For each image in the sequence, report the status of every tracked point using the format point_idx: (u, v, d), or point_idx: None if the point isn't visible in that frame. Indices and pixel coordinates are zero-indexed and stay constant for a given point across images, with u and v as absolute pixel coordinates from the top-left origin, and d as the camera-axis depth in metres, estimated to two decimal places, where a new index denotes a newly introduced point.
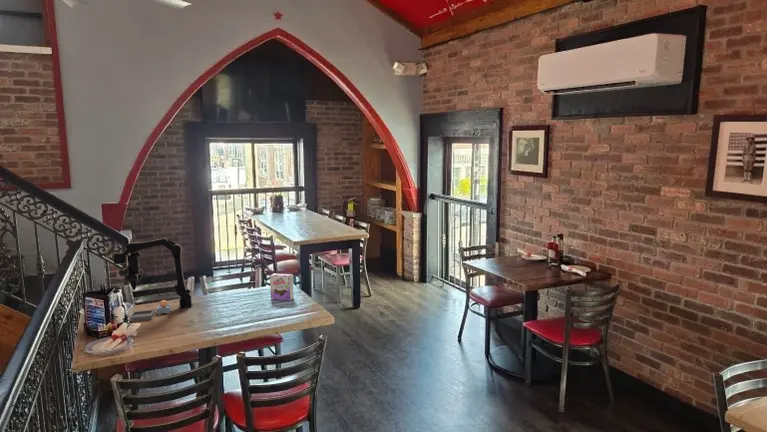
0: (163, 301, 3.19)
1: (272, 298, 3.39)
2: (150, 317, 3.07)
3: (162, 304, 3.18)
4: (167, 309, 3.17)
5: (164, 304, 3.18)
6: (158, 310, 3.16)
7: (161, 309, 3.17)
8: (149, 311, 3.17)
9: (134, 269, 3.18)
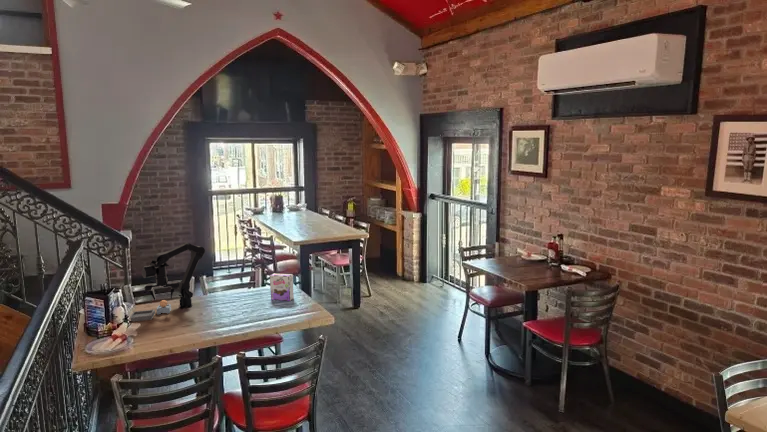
0: (163, 301, 3.19)
1: (272, 298, 3.39)
2: (150, 317, 3.07)
3: (162, 304, 3.18)
4: (167, 309, 3.17)
5: (164, 304, 3.18)
6: (158, 310, 3.16)
7: (161, 309, 3.17)
8: (149, 311, 3.17)
9: (156, 280, 3.17)
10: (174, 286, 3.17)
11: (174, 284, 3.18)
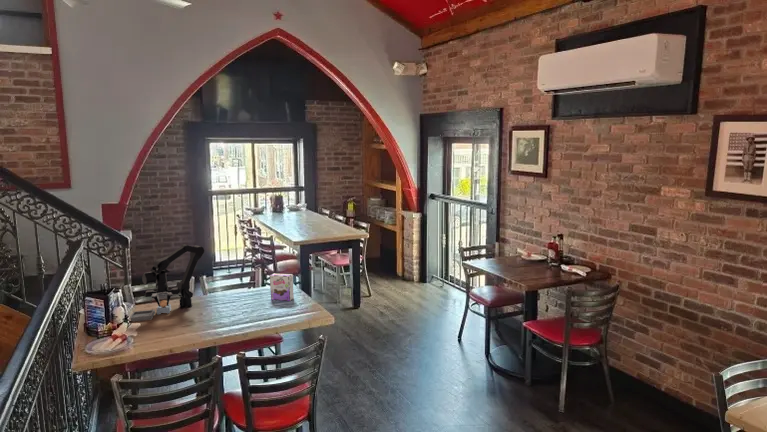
0: (163, 301, 3.19)
1: (272, 298, 3.39)
2: (150, 317, 3.07)
3: (162, 304, 3.18)
4: (167, 309, 3.17)
5: (164, 304, 3.18)
6: (158, 310, 3.16)
7: (161, 309, 3.17)
8: (149, 311, 3.17)
9: (156, 286, 3.17)
10: (174, 292, 3.18)
11: (174, 290, 3.18)
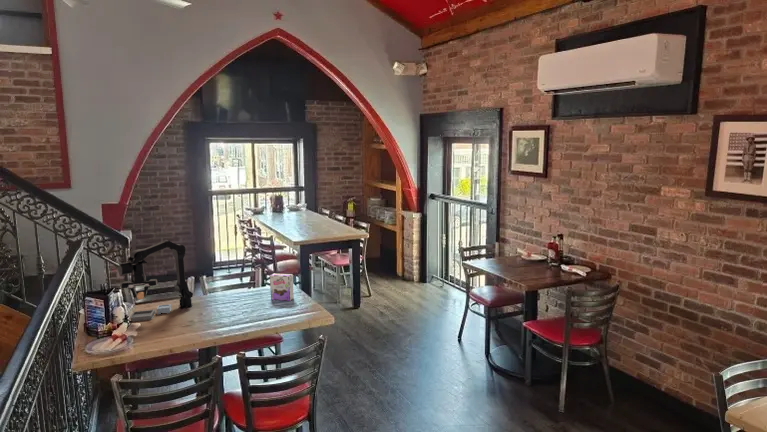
0: (140, 293, 3.08)
1: (272, 298, 3.39)
2: (150, 317, 3.07)
3: (139, 296, 3.07)
4: (167, 309, 3.17)
5: (141, 296, 3.08)
6: (158, 310, 3.16)
7: (161, 309, 3.17)
8: (149, 311, 3.17)
9: (133, 277, 3.07)
10: (152, 284, 3.07)
11: (152, 282, 3.08)
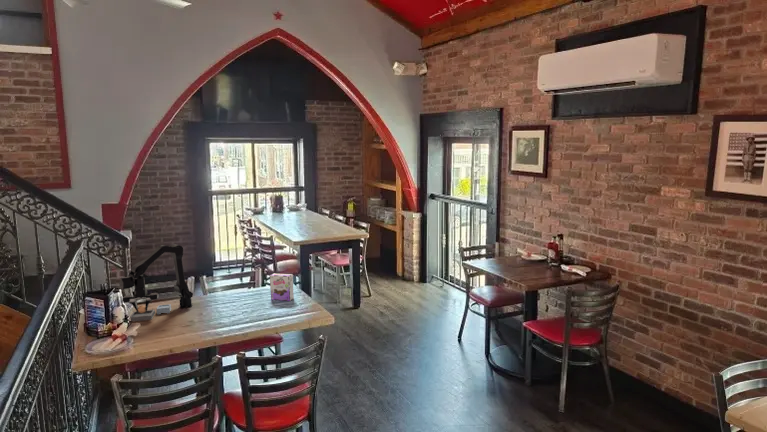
0: (141, 307, 3.09)
1: (272, 298, 3.39)
2: (150, 317, 3.07)
3: (140, 310, 3.08)
4: (167, 309, 3.17)
5: (142, 310, 3.09)
6: (158, 310, 3.16)
7: (161, 309, 3.17)
8: (149, 311, 3.17)
9: (134, 292, 3.08)
10: (153, 298, 3.09)
11: (153, 296, 3.09)
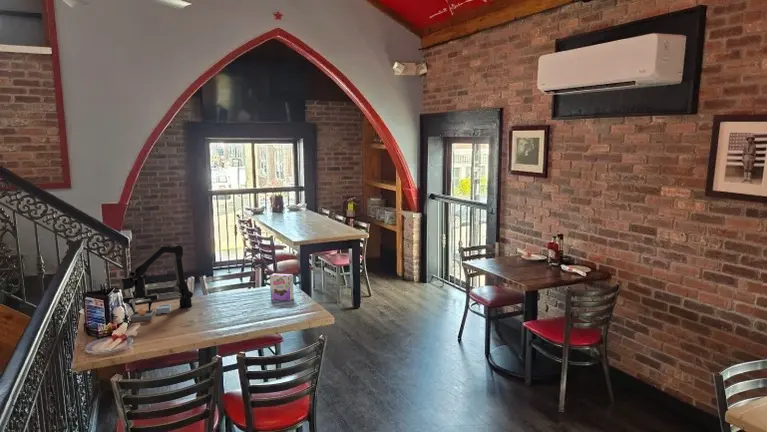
0: (142, 309, 3.09)
1: (272, 298, 3.39)
2: (150, 317, 3.07)
3: (140, 312, 3.09)
4: (167, 309, 3.17)
5: (143, 312, 3.09)
6: (158, 310, 3.16)
7: (161, 309, 3.17)
8: None
9: (134, 292, 3.08)
10: (153, 298, 3.09)
11: (153, 296, 3.09)
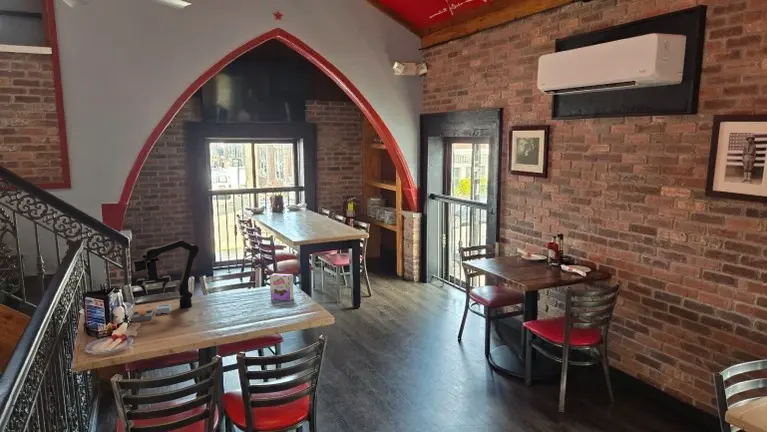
0: (142, 309, 3.09)
1: (272, 298, 3.39)
2: (150, 317, 3.07)
3: (141, 312, 3.09)
4: (167, 309, 3.17)
5: (143, 312, 3.09)
6: (158, 310, 3.16)
7: (161, 309, 3.17)
8: (149, 311, 3.17)
9: (147, 275, 3.15)
10: (166, 280, 3.16)
11: (166, 278, 3.16)
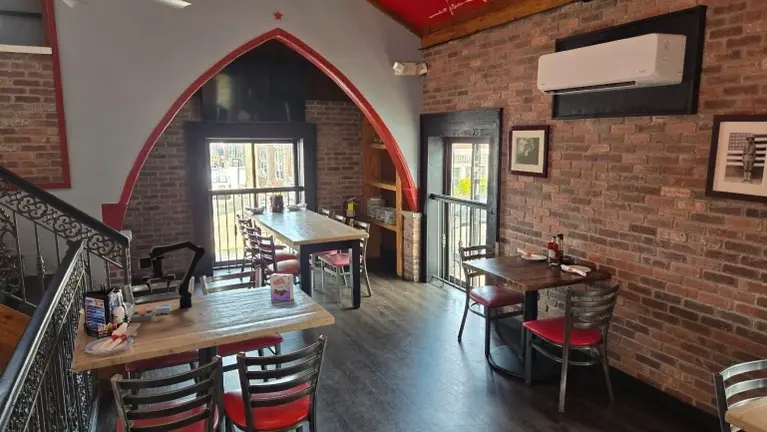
0: (142, 309, 3.09)
1: (272, 298, 3.39)
2: (150, 317, 3.07)
3: (141, 312, 3.09)
4: (167, 309, 3.17)
5: (143, 312, 3.09)
6: (158, 310, 3.16)
7: (161, 309, 3.17)
8: (149, 311, 3.17)
9: (152, 272, 3.18)
10: (170, 278, 3.19)
11: (170, 276, 3.19)
